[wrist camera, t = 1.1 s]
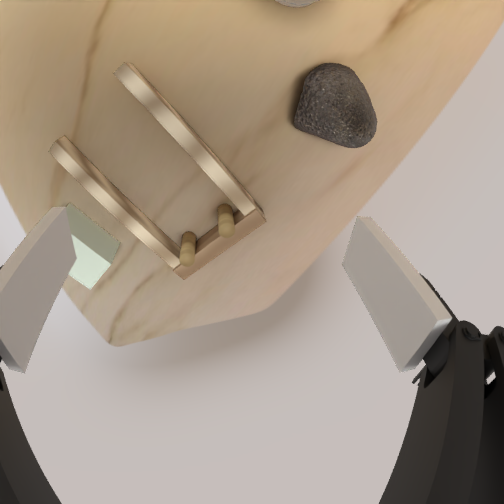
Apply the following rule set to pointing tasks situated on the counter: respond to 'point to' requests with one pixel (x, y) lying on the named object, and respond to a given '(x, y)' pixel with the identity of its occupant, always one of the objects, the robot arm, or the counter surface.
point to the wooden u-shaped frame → (131, 217)
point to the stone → (336, 107)
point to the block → (89, 247)
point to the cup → (296, 2)
